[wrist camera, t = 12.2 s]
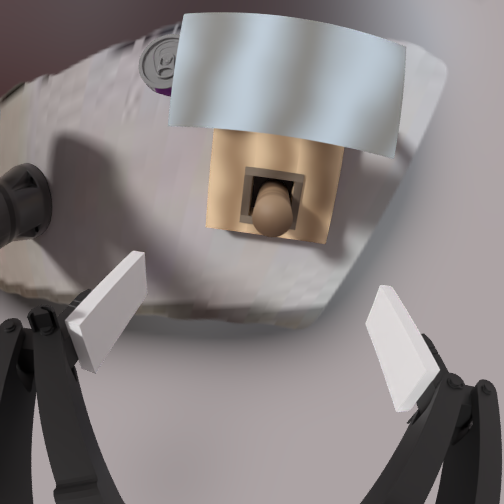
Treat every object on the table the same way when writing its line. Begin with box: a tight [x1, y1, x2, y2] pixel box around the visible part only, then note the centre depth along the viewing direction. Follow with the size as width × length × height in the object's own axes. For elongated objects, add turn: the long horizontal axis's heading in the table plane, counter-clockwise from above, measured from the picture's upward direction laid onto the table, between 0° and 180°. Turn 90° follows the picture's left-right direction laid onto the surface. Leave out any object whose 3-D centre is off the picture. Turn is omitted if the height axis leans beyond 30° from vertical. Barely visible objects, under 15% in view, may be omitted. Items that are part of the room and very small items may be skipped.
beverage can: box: [139, 34, 180, 97], centre depth 27 cm, size 7×7×12 cm
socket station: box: [168, 13, 406, 244], centre depth 27 cm, size 16×22×20 cm
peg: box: [252, 179, 293, 237], centre depth 33 cm, size 4×4×12 cm
